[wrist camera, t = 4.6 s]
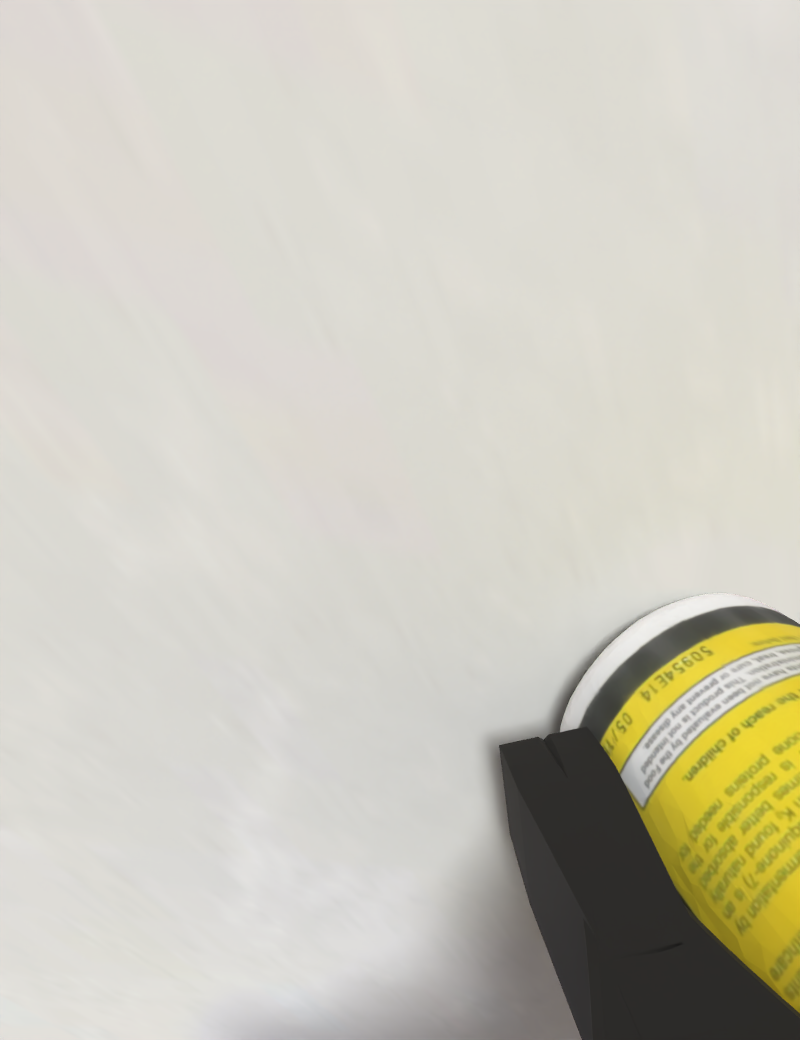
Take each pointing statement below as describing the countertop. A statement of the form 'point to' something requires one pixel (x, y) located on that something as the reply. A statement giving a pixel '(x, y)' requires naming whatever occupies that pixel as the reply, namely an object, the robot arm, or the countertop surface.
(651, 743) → the supplement bottle
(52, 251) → the countertop surface
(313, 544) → the countertop surface
